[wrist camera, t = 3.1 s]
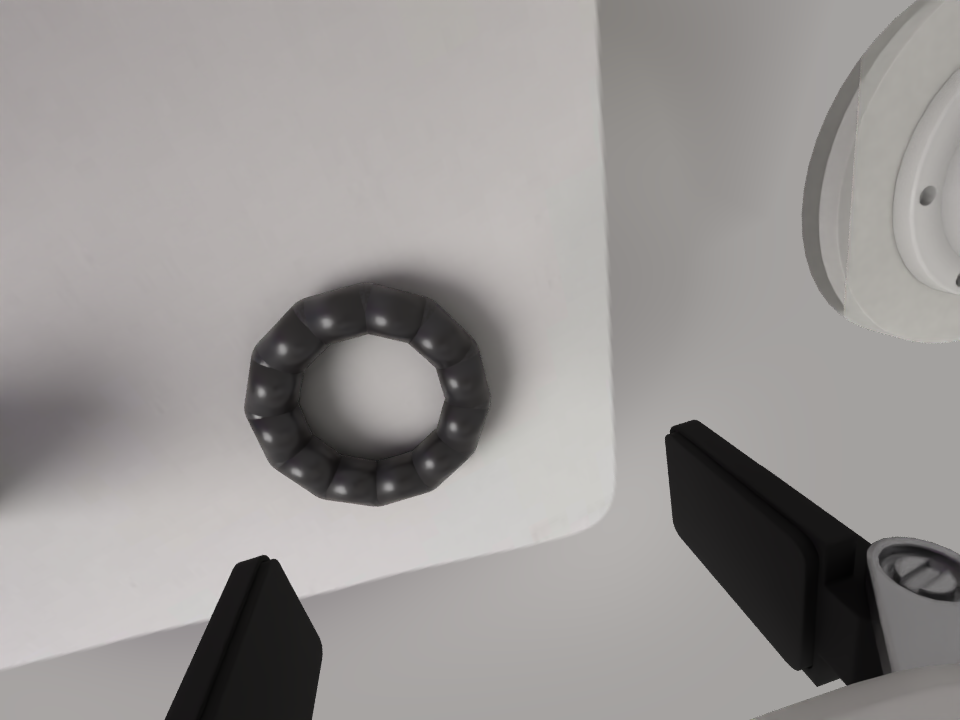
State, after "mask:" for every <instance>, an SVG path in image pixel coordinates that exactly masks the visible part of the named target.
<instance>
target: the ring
mask: <svg viewBox="0 0 960 720" xmlns="http://www.w3.org/2000/svg"><path fill="white" fill-rule="evenodd" d="M366 334H371V335H376V336H380V337H384V338H389V339H393V340H397V341H402V342H406V343H409V344H410V345H411V346H412V347H413V348H414V349H416V350H417V351H418V352H419V353H420V354H421V355H422V356H423V357H424V358H426V359H427V360H428V361H429V362H430V363H431V364H432V365H433V366H435V367H436V370H437V373H438V377H439V380H440V383H441V387H442V390H443V393H444V397H445V401H444V404H443V408H442V411H441V415H440V418H439V422H438V425H437V428H436V429H435V430H434V431H433V432H432V433H431V434H430V435H429V436H428V437H427V438H426V439H425V440H424V441H423V442H422V443H421V444H419V445H418V446H417V447H416V448H415V449H414V450H413V451H411V452H408V453H404V454H401V455H397V456H394V457H390V458H387V459H384V460H380V461H374V460H368V459H362V458H356V457H350V456H343V455H340V454H339V453H338V452H336V451H335V450H333V449H332V448H331V447H329V446H328V445H327V444H325V443H324V442H322V441H321V440H320V439H318V438H317V437H316V436H314V435H313V434H312V433H311V431H310V428H309V426H308V424H307V422H306V419H305V417H304V415H303V413H302V410H301V408H300V406H299V403H298V402H299V396H300V391H301V386H302V380H303V375H304V370H305V369H306V368H307V367H308V366H309V365H310V364H311V363H312V362H313V361H314V360H315V359H316V358H317V357H318V356H319V355H320V354H321V353H322V352H323V351H324V350H325V349H326V348H327V347H328V345H330V344H333V343H337V342H341V341H344V340H348V339H352V338H355V337H359V336H362V335H366ZM490 403H491V394H490V390H489V386H488V382H487V378H486V374H485V370H484V366H483V362H482V358H481V355H480V351H479V347H478V345H477V343H476V341H475V340H474V339H473V338H472V337H471V336H470V335H469V334H468V333H467V332H466V331H465V330H464V329H463V328H462V327H461V326H460V325H459V324H458V323H457V322H456V321H455V320H454V319H453V318H452V317H451V316H450V315H449V314H447V313H446V312H445V311H444V310H443V309H442V308H441V307H440V306H439V305H438V304H437V303H436V302H435V301H433V300H432V299H430V298H427V297H424V296H420V295H416V294H412V293H408V292H404V291H400V290H396V289H393V288H389V287H385V286H381V285H377V284H373V283H360V284H356V285H352V286H348V287H345V288H341V289H337V290H333V291H330V292H326V293H322V294H318V295H315V296H311V297H307V298H304V299H302V300H300V301H298V302H297V303H296V304H294V305H293V306H292V307H291V309H290V310H289V311H288V312H287V313H286V314H285V315H284V316H283V317H282V318H281V319H280V320H279V321H278V322H277V323H276V324H275V326H274V327H273V328H272V329H271V330H270V331H269V332H268V333H267V334H266V335H265V336H264V337H263V338H262V339H261V340H260V341H259V343H258V344H257V345H256V346H255V348H254V350H253V352H252V356H251V363H250V370H249V377H248V384H247V391H246V398H245V407H244V409H245V410H244V411H245V415H246V417H247V419H248V421H249V423H250V425H251V427H252V429H253V431H254V433H255V435H256V437H257V439H258V441H259V443H260V445H261V447H262V450H263V452H264V454H265V456H266V458H267V460H268V461H269V463H270V464H271V466H272V467H273V468H275V469H276V470H278V471H279V472H281V473H282V474H284V475H285V476H287V477H288V478H290V479H291V480H293V481H294V482H296V483H297V484H299V485H300V486H302V487H303V488H305V489H306V490H308V491H309V492H311V493H312V494H314V495H315V496H317V497H319V498H321V499H325V500H331V501H338V502H346V503H353V504H360V505H367V506H377V507H378V506H384V505H387V504H390V503H394V502H397V501H400V500H404V499H407V498H411V497H414V496H417V495H421V494H424V493H427V492H430V491H433V490H434V489H436V488H437V487H438V486H439V485H440V484H441V483H442V482H443V481H444V480H446V479H447V478H448V477H449V476H450V475H451V474H452V473H453V472H454V471H455V470H456V469H457V468H459V467H460V466H461V465H462V464H463V463H464V462H465V461H466V460H467V459H468V458H469V457H470V456H471V455H472V454H473V453H474V451H475V450H476V447H477V444H478V441H479V438H480V435H481V432H482V428H483V425H484V422H485V419H486V416H487V413H488V410H489V407H490Z"/></svg>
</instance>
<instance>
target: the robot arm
mask: <svg viewBox="0 0 960 720" xmlns="http://www.w3.org/2000/svg"><path fill="white" fill-rule="evenodd" d="M893 231H894V235H895V240H896V244H897V248H898V251H899V253H900V255H901V258H902V260H903V262H904V264H905V266H906V267H907V268H908V270H909V271H910V272H911V273H912V274H913V275H914V276H915V278H916V279H917V280H919V281H920V282H922V283H923V284H925V285H927V286H928V287H930V288H931V289H935V290H939V291H942V292H946V293H951V294H958V295H960V68H959V69H957V70H956V71H955V72H954V73H953V74H952V76H951V77H950V78H949V79H948V81H947V82H946V83H945V84H944V86H943V87H942V88H941V90H940V91H939V92H938V93H937V95H936V96H935V97H934V98H933V100H932V101H931V103H930V105H929V106H928V108H927V110H926V111H925V113H924V115H923V116H922V118H921V119H920V121H919V123H918V124H917V126H916V128H915V130H914V132H913V135H912V137H911V139H910V141H909V144H908V146H907V148H906V150H905V153H904V155H903V159H902V162H901V166H900V169H899V172H898V176H897V179H896V185H895V192H894V199H893ZM665 445H666V455H667V464H668V475H669V486H670V496H671V506H672V516H673V524H674V527H675V529H676V531H677V533H678V535H679V536H680V537H681V539H682V540H683V541H684V542H685V543H686V545H687V546H688V547H689V548H690V549H691V550H692V551H693V553H694V554H695V555H696V556H697V557H698V559H699V560H700V561H701V562H702V563H703V564H704V566H705V567H706V568H707V569H708V570H709V572H710V573H711V574H712V575H713V576H714V577H715V579H716V580H717V581H718V582H719V583H720V585H721V586H722V587H723V588H724V589H725V590H726V592H727V593H728V594H729V595H730V596H731V597H732V598H733V600H734V601H735V602H736V603H737V604H738V606H739V607H740V608H741V609H742V610H743V612H744V613H745V614H746V615H747V616H748V618H750V620H751V621H752V622H753V623H754V625H755V626H756V627H757V628H758V629H759V630H760V632H761V633H762V634H763V635H764V636H765V637H766V639H767V640H768V641H769V642H770V643H771V645H772V646H773V647H774V648H775V649H776V650H777V652H778V653H779V654H780V655H781V656H782V658H783V659H784V660H785V661H786V662H787V663H788V664H789V665H790V666H791V667H792V668H793V669H795V670H797V671H799V670H803V671H804V672H805V674H806V675H807V676H808V677H809V678H810V679H811V680H812V682H813V683H814V684H815V685H816V686H817V687H818V686H821V685H823V684H826V683H829V682H831V681H834V680H837V679H839V678H840V679H841V680H842V681H843V682H844V683H845V684H846V685H847V686H845V687H842V688H839V689H836V690H834V691H830V692H828V693H825V694H822V695H819V696H816V697H813V698H810V699H807V700H805V701H801V702H799V703H796V704H793V705H790V706H787V707H784V708H781V709H779V710H775V711H772V712H770V713H767V714H764V715H762V716H759V717H756V718H753V719H751V720H960V555H959V554H958V553H956V552H954V551H952V550H950V549H948V548H945V547H943V546H940V545H938V544H935V543H933V542H928V541H924V540H920V539H916V538H907V537H891V538H883V539H881V540H879V541H876V542H874V543H872V544H870V543H869V542H867V541H866V540H865V539H863V538H862V537H861V536H859V535H858V534H856V533H855V532H854V531H852V530H851V529H849V528H848V527H846V526H845V525H844V524H842V523H841V522H840V521H838V520H837V519H836V518H834V517H833V516H831V515H830V514H829V513H827V512H825V511H824V510H823V509H822V508H820V507H819V506H817V505H816V504H815V503H813V502H812V501H810V500H809V499H808V498H806V497H805V496H803V495H802V494H801V493H799V492H798V491H796V490H795V489H793V488H792V487H791V486H789V485H788V484H787V483H785V482H784V481H782V480H781V479H780V478H778V477H777V476H775V475H774V474H773V473H771V472H770V471H768V470H767V469H766V468H764V467H763V466H761V465H759V464H758V463H757V462H755V461H754V460H752V459H751V458H750V457H748V456H747V455H745V454H744V453H743V452H741V451H740V450H738V449H737V448H736V447H734V446H733V445H731V444H730V443H729V442H727V441H726V440H725V439H723V438H722V437H720V436H719V435H718V434H716V433H715V432H713V431H712V430H711V429H709V428H708V427H706V426H705V425H704V424H702V423H701V422H699V421H697V420H691V421H688V422H685V423H682V424H679V425H675V426H673V427H672V428H671V430H670V434H668V435H666V437H665ZM321 662H322V644H321V641H320V638H319V636H318V634H317V632H316V630H315V629H314V627H313V625H312V623H311V621H310V619H309V617H308V616H307V614H306V612H305V610H304V608H303V606H302V604H301V602H300V601H299V599H298V597H297V595H296V593H295V591H294V589H293V588H292V586H291V584H290V582H289V580H288V578H287V576H286V574H285V573H284V571H283V569H282V567H281V565H280V563H279V562H278V560H276V559H271V560H270V558H269V557H268V556H266V555H262V556H259V557H255V558H252V559H249V560H246V561H243V562H240V563H238V564H236V565H235V567H234V568H233V570H232V573H231V575H230V577H229V579H228V581H227V584H226V586H225V588H224V590H223V592H222V595H221V597H220V599H219V601H218V603H217V606H216V608H215V610H214V612H213V614H212V617H211V619H210V621H209V623H208V625H207V628H206V630H205V632H204V634H203V636H202V639H201V641H200V643H199V645H198V647H197V650H196V652H195V654H194V656H193V659H192V661H191V663H190V665H189V667H188V669H187V672H186V674H185V676H184V678H183V680H182V683H181V685H180V687H179V689H178V691H177V694H176V696H175V698H174V700H173V702H172V705H171V707H170V709H169V711H168V713H167V716H166V718H165V720H312V715H313V709H314V703H315V698H316V692H317V686H318V680H319V674H320V668H321Z"/></svg>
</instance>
